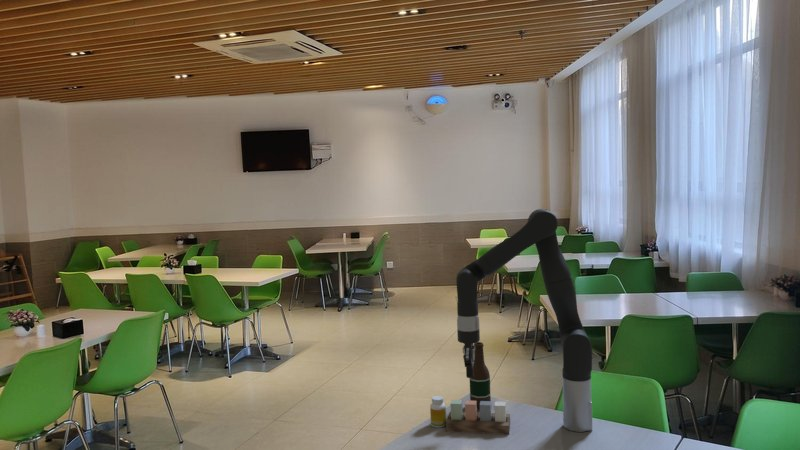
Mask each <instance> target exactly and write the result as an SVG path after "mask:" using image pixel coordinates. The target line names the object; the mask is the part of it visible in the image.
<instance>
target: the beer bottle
mask: <svg viewBox="0 0 800 450" xmlns="http://www.w3.org/2000/svg"><path fill="white" fill-rule="evenodd" d="M473 346H475V358H474V362H473V363H474V365H473V378H469V400H470V401H477V410H480V401H491V398H492V397H491V375H490V370H489V368H488V367H487V365H486V364H485V356H484V343H483V342H481V341H479V342H477V343H473ZM491 402H492V401H491Z"/></svg>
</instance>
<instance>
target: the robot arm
mask: <svg viewBox="0 0 800 450" xmlns="http://www.w3.org/2000/svg"><path fill="white" fill-rule="evenodd" d="M557 229H558V218H557V217H556V215H555V214H554V213H553V212H552V211H550V210H547V209H541V208H538V209H535V210H533V212H531V213H530V215H529V216H528V218H527V222H526V224H525V225H523V226H522V227H521V228H520V229H519V230H518V231H516V232H515V233H514V234H512V235H511V236H510V237H507V238H506V239H504V240H503V241H500V242H499V243H498V244H496V245H495V246H493V247H492V248H490V249H489V250H487V251H486V252H485V253H483V254H482V255H481V256H480V257H478V258H477V259H475V260H474V261H472V262H471V263H468V264H467V265H466V266H464V267H463V268H462V269H460V270H459V271H458V272H457V274H456V293H457V303H456V305H457V306H456V309H457V312H456V313H457V318H456V326H457V327H456V328H457V329H456V330H457V334H456V335H457V342H458V343H461V344H463V347H462V353H463V356H462V357H463V363H464V368H465V370H466V372H465V375H466V377H465V378H467V379H470V378H473V365H474V358H475V346H474V343H477V342H481V339H480V338H481V336H480V331H481V330H480V317H479V304H478V283H479V282H480V281H481V280H483V279H484V278H485V277H487V276H491V275H493V274H495V273H496V272H497V271H498V270H500V269H501V268H502V267H504V266H505V265H506V264H508V263H509V262H511V260H513V259H515V257H517V256H518V255H520V254H521V253H522V252H524V251H525V250H527V249H529V248H530V247H532V246H534V245H535V247H536V250H537V255H538V259H539V265H540V270H541V276H542V279H543V284H544V287H545V291H546V294H547V297H548V300H549V302H550V304H551V306H552V307H551V308H552V310H553V312H554V314H555V316H556V320H557V321H556V322H557V325H558V330H559V337H560V345H561V348H562V353H563V355H562V357H563V358H562V359H563V360H562V361H563V363H562V364H563V365H562V370H561V371H562V372H561V373H562V415H563V416H562V420H563V421H562V422H563V423H562V425H563V428H564V429H566V430H569V431H571V432H577V433H581V432H583V433H584V432H588V431H589V432H590V431H593V402H592V375H591V374H592V370H593V347H592V346H593V345H592V342H591V339H590V337H589V336H588V334H587V333H586V330H585V328H584V326H583V323H582V321H581V318H580V315H579V311H578V303H577V293H576V288H575V284H574V281H573V277H572V273H571V270H570V268H569V266H568V262H567V261H566V258H565V256H564V254H563V252H562V250H561V248H560V244H559V241H558V237H557V235H558V234H557Z"/></svg>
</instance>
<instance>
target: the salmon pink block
mask: <svg viewBox="0 0 800 450" xmlns="http://www.w3.org/2000/svg"><path fill="white" fill-rule="evenodd" d="M464 412H465V420H469V421H476V420H477V413H478V409H477V401H470V399H469V400H468V399H467V400H465V403H464Z"/></svg>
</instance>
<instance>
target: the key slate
mask: <svg viewBox="0 0 800 450" xmlns="http://www.w3.org/2000/svg"><path fill="white" fill-rule="evenodd" d="M479 413H480V421H491V418H492V417H491V413H492V401H480V409H479Z"/></svg>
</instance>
